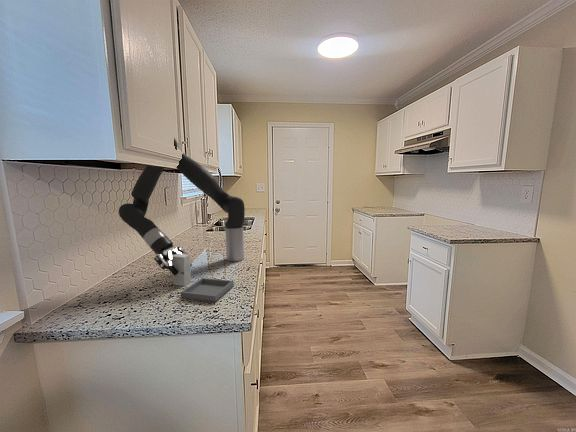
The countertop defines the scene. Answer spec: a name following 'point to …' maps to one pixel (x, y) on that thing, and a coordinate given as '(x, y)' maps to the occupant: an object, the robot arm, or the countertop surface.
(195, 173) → the robot arm
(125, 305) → the countertop surface
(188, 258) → the skincare box
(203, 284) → the tray
